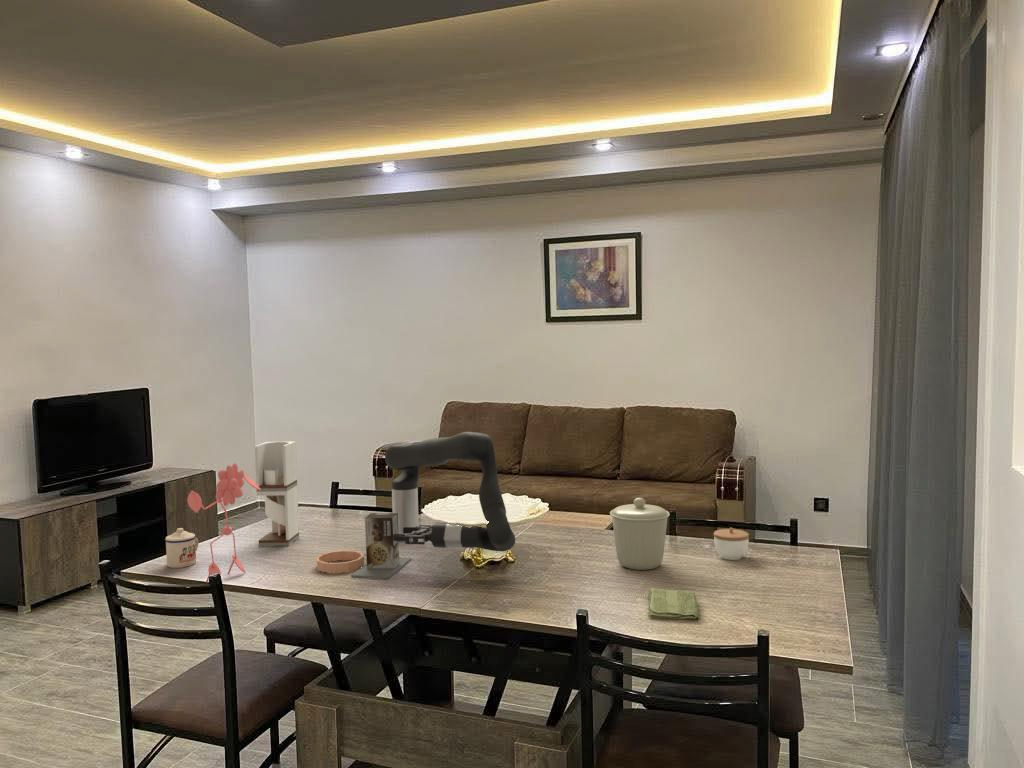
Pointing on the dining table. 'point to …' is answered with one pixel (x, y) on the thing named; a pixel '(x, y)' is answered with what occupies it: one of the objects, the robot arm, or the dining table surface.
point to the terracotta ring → (343, 566)
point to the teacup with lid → (181, 549)
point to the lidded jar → (731, 543)
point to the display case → (278, 490)
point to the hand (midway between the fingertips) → (398, 533)
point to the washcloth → (672, 604)
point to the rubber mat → (380, 571)
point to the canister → (639, 534)
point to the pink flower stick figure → (229, 491)
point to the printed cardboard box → (381, 541)
